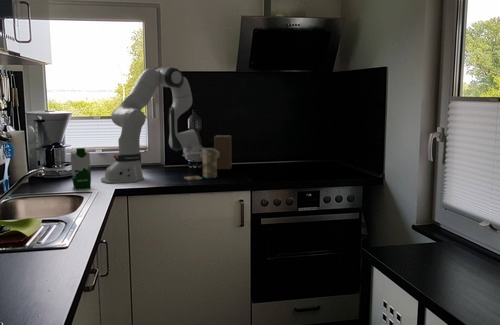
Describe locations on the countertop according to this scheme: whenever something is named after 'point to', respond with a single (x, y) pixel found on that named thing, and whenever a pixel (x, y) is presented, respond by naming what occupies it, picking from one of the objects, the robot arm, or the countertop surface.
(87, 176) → the milk carton
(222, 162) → the wooden block
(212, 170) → the tall oak block
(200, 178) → the cork trivet
